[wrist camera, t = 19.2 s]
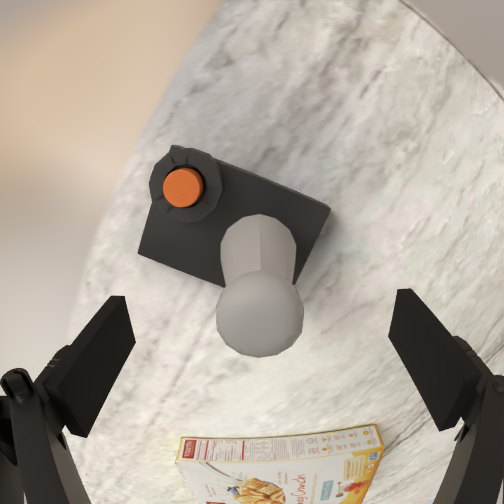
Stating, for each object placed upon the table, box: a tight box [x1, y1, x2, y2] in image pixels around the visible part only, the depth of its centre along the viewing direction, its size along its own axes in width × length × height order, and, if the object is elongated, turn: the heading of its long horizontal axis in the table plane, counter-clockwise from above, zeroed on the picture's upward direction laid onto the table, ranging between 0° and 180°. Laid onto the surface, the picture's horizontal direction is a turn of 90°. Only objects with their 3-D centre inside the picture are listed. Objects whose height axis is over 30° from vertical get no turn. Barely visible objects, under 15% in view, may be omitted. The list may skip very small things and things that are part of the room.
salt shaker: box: [216, 214, 304, 358], centre depth 20 cm, size 6×6×13 cm
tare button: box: [163, 168, 203, 207], centre depth 23 cm, size 3×3×2 cm
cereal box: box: [175, 424, 385, 504], centre depth 38 cm, size 20×6×28 cm
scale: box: [138, 145, 331, 288], centre depth 26 cm, size 14×10×4 cm
